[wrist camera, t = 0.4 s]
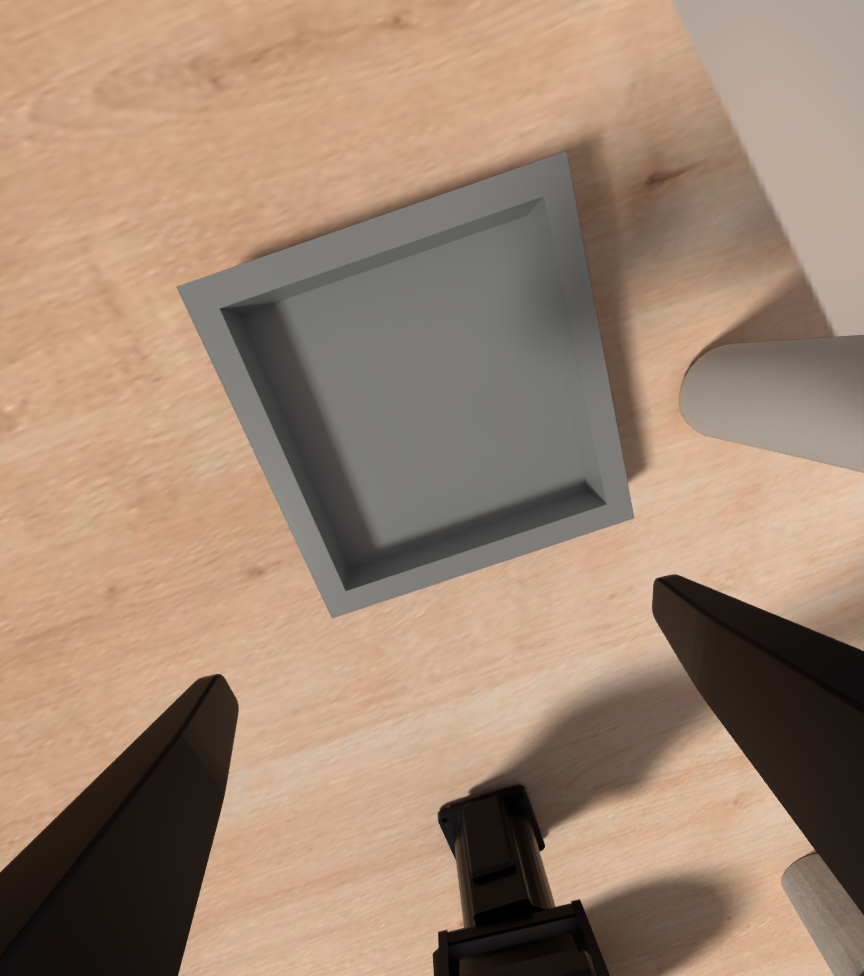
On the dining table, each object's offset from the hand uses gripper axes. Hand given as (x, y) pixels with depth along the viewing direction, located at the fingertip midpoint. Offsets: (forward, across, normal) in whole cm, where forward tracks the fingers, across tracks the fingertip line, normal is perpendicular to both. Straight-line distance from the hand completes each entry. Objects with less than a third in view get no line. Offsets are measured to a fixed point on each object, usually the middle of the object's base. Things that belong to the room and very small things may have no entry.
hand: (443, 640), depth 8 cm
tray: (+14, -1, -1) cm, 15 cm away
